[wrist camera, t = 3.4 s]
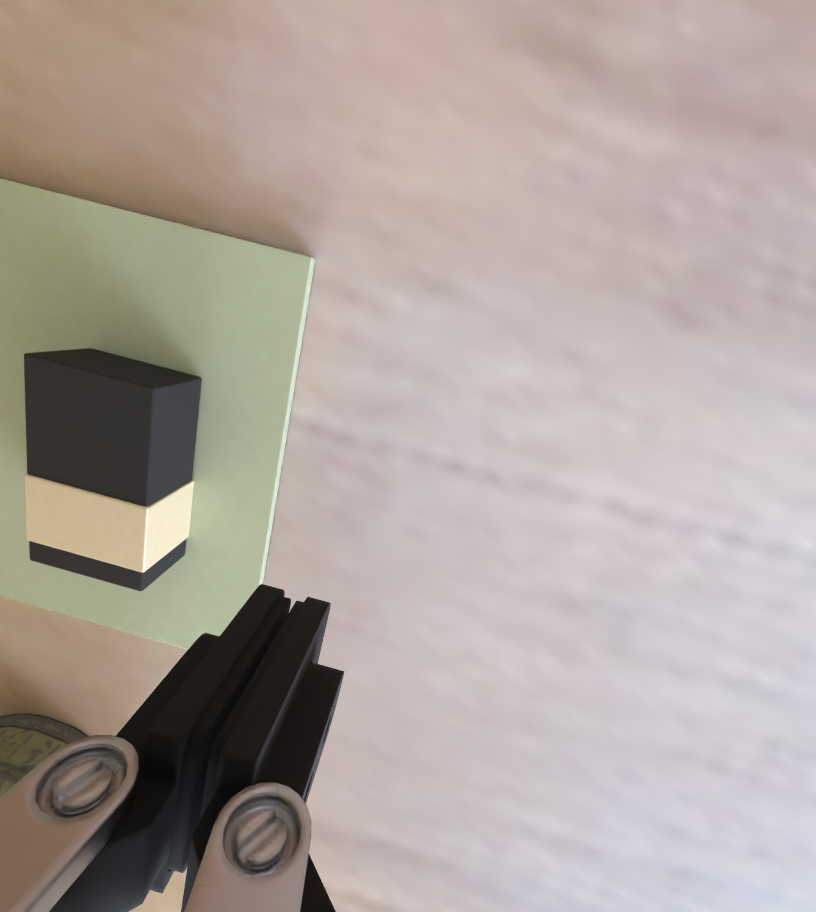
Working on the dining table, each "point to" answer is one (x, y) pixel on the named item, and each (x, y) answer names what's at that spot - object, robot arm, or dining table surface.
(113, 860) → the robot arm
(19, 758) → the thermos
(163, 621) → the desk mat
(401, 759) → the dining table surface
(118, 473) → the eraser
